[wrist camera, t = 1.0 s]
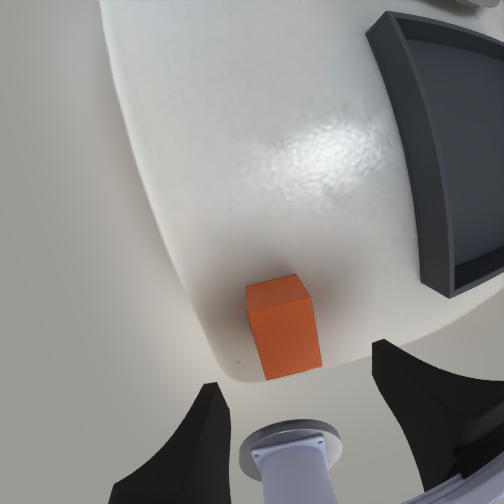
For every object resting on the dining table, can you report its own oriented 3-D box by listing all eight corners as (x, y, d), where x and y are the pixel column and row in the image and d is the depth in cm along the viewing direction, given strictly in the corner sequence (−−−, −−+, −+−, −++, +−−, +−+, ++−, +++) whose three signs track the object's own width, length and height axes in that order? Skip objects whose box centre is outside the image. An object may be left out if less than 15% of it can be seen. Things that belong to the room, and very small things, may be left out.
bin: (537, 231, 22) (560, 237, 18) (420, 282, 23) (449, 299, 18) (504, 60, 17) (525, 52, 13) (365, 33, 18) (385, 10, 13)
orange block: (307, 333, 23) (322, 366, 18) (261, 345, 23) (266, 380, 18) (296, 273, 22) (310, 296, 17) (245, 286, 22) (246, 312, 17)
